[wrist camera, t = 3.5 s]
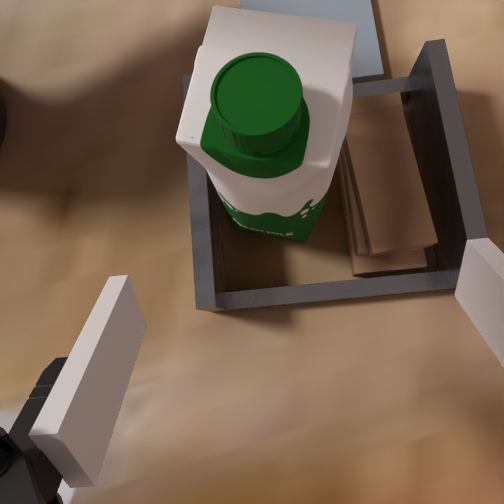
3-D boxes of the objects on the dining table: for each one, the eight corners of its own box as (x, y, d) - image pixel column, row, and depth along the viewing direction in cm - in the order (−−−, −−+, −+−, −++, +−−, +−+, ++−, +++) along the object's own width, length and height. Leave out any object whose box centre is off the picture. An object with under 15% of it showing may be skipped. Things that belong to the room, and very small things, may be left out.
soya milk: (221, 235, 36) (143, 126, 16) (242, 147, 37) (195, -49, 18) (313, 254, 35) (349, 161, 15) (331, 163, 36) (385, -29, 17)
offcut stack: (352, 275, 34) (363, 268, 29) (329, 114, 37) (335, 84, 32) (420, 269, 34) (442, 259, 29) (391, 106, 37) (406, 74, 32)
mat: (250, 97, 38) (249, 91, 37) (239, -11, 41) (238, -19, 40) (381, 80, 37) (383, 73, 36) (361, -29, 40) (363, -38, 39)
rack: (211, 312, 34) (196, 309, 29) (197, 113, 38) (181, 75, 33) (459, 288, 33) (497, 280, 27) (419, 84, 37) (444, 38, 31)
